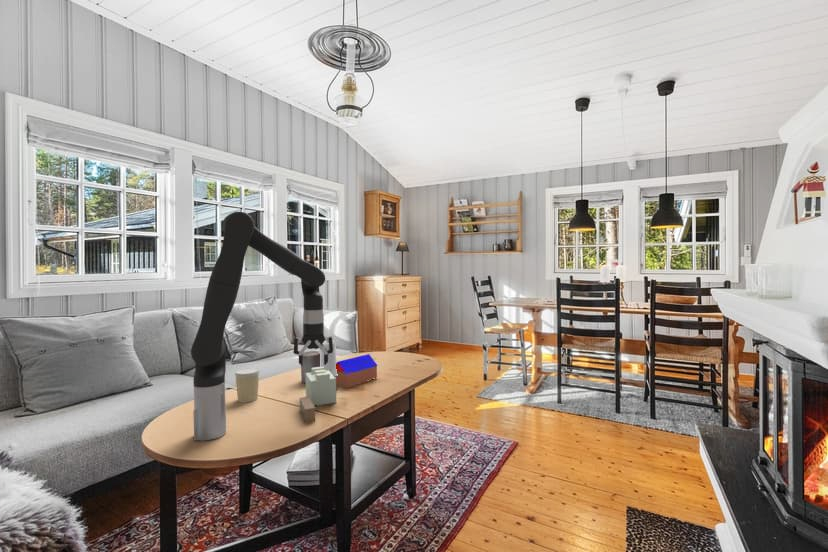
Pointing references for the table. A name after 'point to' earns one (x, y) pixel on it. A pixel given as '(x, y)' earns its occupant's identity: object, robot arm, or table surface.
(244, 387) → the coffee cup
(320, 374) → the stand
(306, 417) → the long beige cuboid
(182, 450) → the table surface
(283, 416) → the table surface
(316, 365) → the pillar candle
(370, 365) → the house
